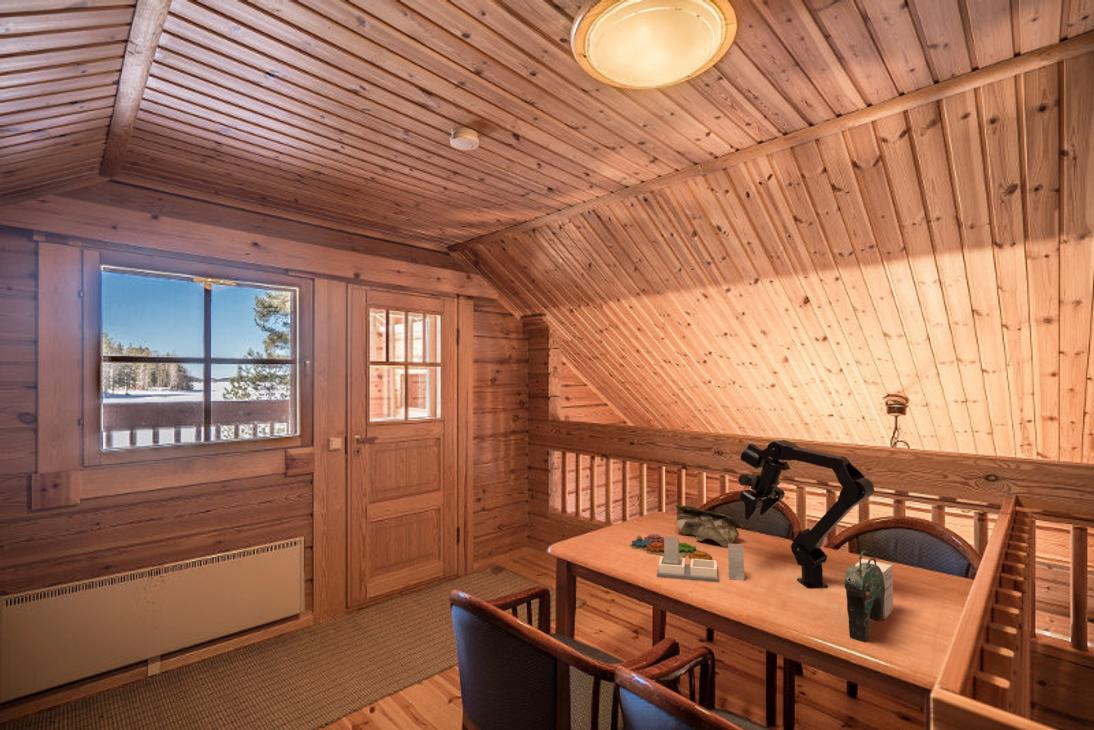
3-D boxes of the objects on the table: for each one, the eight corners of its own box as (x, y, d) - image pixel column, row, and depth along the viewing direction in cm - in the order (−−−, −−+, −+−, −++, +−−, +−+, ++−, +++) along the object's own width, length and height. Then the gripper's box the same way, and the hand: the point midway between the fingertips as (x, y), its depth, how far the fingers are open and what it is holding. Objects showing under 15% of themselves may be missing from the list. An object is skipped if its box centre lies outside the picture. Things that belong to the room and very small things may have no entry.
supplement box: (854, 611, 146) (853, 564, 146) (864, 602, 151) (862, 557, 151) (885, 620, 140) (884, 571, 140) (894, 610, 145) (892, 564, 145)
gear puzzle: (722, 558, 189) (721, 547, 189) (694, 570, 179) (694, 557, 179) (653, 538, 214) (653, 528, 214) (625, 547, 203) (625, 536, 204)
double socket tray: (718, 569, 178) (717, 559, 178) (718, 582, 167) (718, 571, 167) (659, 564, 183) (659, 554, 183) (656, 576, 173) (656, 565, 173)
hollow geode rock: (677, 543, 221) (658, 521, 215) (690, 517, 226) (672, 495, 221) (736, 559, 198) (717, 535, 192) (749, 530, 204) (731, 506, 198)
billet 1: (679, 567, 178) (678, 536, 178) (678, 571, 174) (678, 541, 174) (665, 565, 179) (665, 535, 179) (664, 570, 175) (664, 540, 175)
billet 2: (743, 575, 172) (742, 544, 172) (744, 580, 168) (743, 548, 168) (728, 574, 174) (727, 543, 174) (729, 579, 169) (728, 547, 169)
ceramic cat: (868, 646, 127) (865, 562, 127) (838, 637, 132) (835, 556, 132) (891, 617, 141) (888, 541, 141) (863, 610, 145) (861, 536, 146)
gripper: (762, 460, 187) (748, 499, 191) (732, 467, 175) (718, 508, 179) (792, 476, 179) (776, 517, 183) (762, 484, 167) (746, 527, 171)
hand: (754, 516), depth 179 cm, fingers open, 9 cm apart
